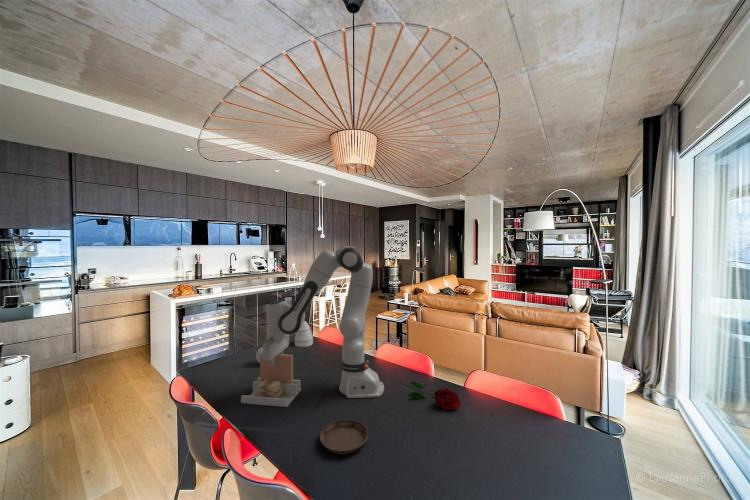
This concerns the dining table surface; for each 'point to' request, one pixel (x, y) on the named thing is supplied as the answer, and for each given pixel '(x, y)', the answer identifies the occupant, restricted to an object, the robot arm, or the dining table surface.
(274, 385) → the offcut top
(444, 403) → the flower
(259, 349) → the ornament
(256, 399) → the rack
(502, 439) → the dining table surface
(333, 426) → the plant saucer
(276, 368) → the brown square panel
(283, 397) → the offcut bottom
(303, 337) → the honey pot
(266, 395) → the offcut middle
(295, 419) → the dining table surface
